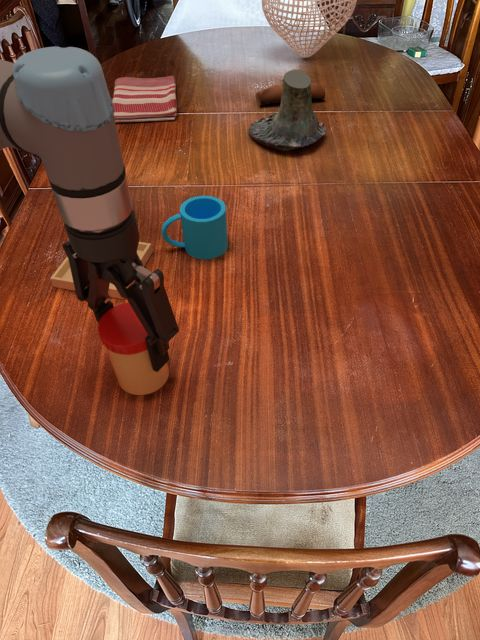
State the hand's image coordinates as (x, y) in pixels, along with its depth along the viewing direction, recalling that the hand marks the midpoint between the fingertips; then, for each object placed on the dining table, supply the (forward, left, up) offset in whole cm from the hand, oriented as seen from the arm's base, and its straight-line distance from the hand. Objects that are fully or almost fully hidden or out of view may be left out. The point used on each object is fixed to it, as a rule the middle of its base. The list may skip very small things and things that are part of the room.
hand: (137, 351), depth 72 cm
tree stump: (+6, +78, -5) cm, 78 cm away
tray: (-16, +21, -5) cm, 27 cm away
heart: (+1, +130, -5) cm, 130 cm away
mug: (-2, +31, -5) cm, 32 cm away
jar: (0, 0, -5) cm, 5 cm away
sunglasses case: (+2, +99, -5) cm, 99 cm away
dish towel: (-35, +87, -5) cm, 94 cm away
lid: (0, 0, +5) cm, 5 cm away
